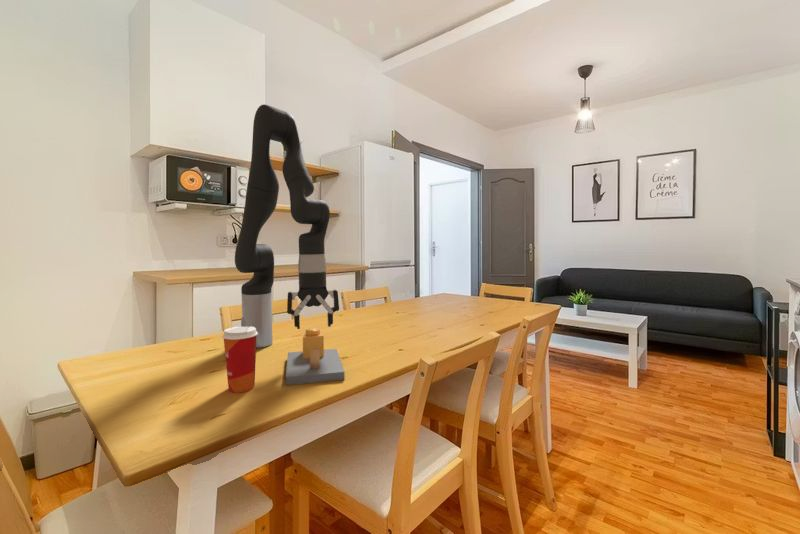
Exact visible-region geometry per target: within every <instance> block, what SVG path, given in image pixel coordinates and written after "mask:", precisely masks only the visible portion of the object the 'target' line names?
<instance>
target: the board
mask: <svg viewBox="0 0 800 534" xmlns="http://www.w3.org/2000/svg"><path fill="white" fill-rule="evenodd" d="M286 359H287V361H286V371H285V372H286V373H285V386H291V385H292V386H293V385H301V384H302V385H303V384H314V383H324V382H325V383H326V382H335V381H343V380H345V379H346V378H345V370H344V367H343V363H342V360H341V357H340V355H339V352H338V349H337V348H330V349H329V348H328V349H324V357H319V349H312V350H310V358H303V350H302V351H291V352H290V351H288V352H287V358H286Z"/></svg>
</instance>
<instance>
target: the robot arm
mask: <svg viewBox="0 0 800 534" xmlns="http://www.w3.org/2000/svg"><path fill="white" fill-rule="evenodd" d="M252 124H253V125H252V126H253V127H252V141H251V143H252V146H251V159H250V168H249V173H248V180H247V186H246V193H245V200H244V201H245V202H244V208H243V209H244V210H243V216H242V220H241V226H240V230H239V235H238V239H237V242H236V248H235V251H234V264H235V265H234V266H235V267H236V269H237V271H239V272H240V273H243V274H252V273H253V274H252V277H251V278H250V280H248V281H246V282H245V283H243V284H242V285H241V286H240V287H241V290H240V291H241V319H240V326H242V327H243V326H249V327H250V326H252V327H255V328H256V331H257V332H258V334H257V335H256V349H259V348H266V347H269V346H271V345H273V340H274V339H273V337H274V336H273V302H272V301H273V300H272V299H273V296H272V294H273V293H272V288H273V284H274V281H275V280H274V279H275V276H274V275H275V257H274V252H273V250H272V247H271V246H269V245H267V244H265V243H258V240H259V239H258V238H259V235H260V233H261V229H262V228H263V227H264V225H265V224H266V222H267V221H268V220H269V219H270V217H271V216H272V214H273V213H274V211H275V210H276V207H277V204H278V199H279V193H280V191H279V190H280V184H279V179H278V176H277V174H276V171H275V169H274V166H273V164H272V160H271V155H270V148H271V147H270V144H271V141H274V142H278V143H281V144H282V146H283V147H284V150H285V152H286V153H285V157H284V160H283V163H282V176H283V178H284V181H285V184H286V187H287V189H288V192H289V201H290V203H289V205H290V208H289V209H290V215H291V217H292V219H293V221H295V222H296V223H297V224H300V225H311V227H310V230H309V231H307V232H303V233H301V234H300V235H299V236H298V264H297V265H298V267H297V270H298V291H297V292H296V291H288V292H287V300H286V301H287V304H286V306H287V307H286V308H287V309H286V313H287V314H288V315H292V316H294V317H293V318H294V321H293V322H294V327H295V328H296V329H297V330H300V328H301V327H300V326H301V324H300V313H301V312H302V310H303V309H304V308H305V306H306V307H308V308H310V307H320V306H321V305H322V306H323V308H324V309H325V310H326V311H327V314H326V315H327V326H328V327H332V325H333V323H334V313H335V312H338V311H340V304H339V303H340V301H339V300H340V299H339V292H338V290H337V289H336V288H335V289H333V290H328V289H327V264H326V263H327V261H326V254H325V253H326V251H325V250H326V249H325V238H326V235H327V230H328V225H329V221H330V218H331V217H330V216H331V211H330V207H329V204H328V203H327V202H326V201H324V200H322V199H316V198H308V197H310V196H312V194H313V193H314V191H315V186H314V183H313V181H312V178H311V176H310V173H309V170H308V168H307V166H306V162H305V160H304V157H303V156H304V155H303V151H302V146H301V145H302V144H301V141H300V136H299V135H300V134H299V131H298V127H297V123H296V120H295V118H294V117H293V115H292V114H290V113H289V112H288V111H284V110H282V109H280V108H276V107H273V106H272V105H268V104H260V106H258V107H257V109H256V111H255V114H254V118H253V123H252ZM328 295H330V298H332V299H333V300H332V301H333V306H332V307H330V305H329V304H328V302H327V301H326V299H327V297H329V296H328ZM296 297H298V299H299V300H300V302H299V304H298V305H297V307H296V308H295V309H294V308H293V301H294V300H295V299H296Z"/></svg>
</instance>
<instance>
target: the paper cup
mask: <svg viewBox="0 0 800 534" xmlns="http://www.w3.org/2000/svg"><path fill="white" fill-rule="evenodd" d="M257 334H258V332H257V331H256V328H255V327H252V326H250V327H249V326H243V327H242V326H241V325H240V326H232V327H229V328H226V329H224V331H223V334H222V336H221V337H222V339H223V344H224V345H223V346H224V348H223V349H224V356H225V357H224V358H225V368H226V375H227V378H226V379H227V385H228V386H227V387H228V391H229V392H231V393H236V394H238V393H245V392H248V391H251V390H252V389H254V388H255V384H256V383H255V382H256V381H255V380H256V360H257V348H256V335H257Z"/></svg>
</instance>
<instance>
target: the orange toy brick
mask: <svg viewBox="0 0 800 534" xmlns="http://www.w3.org/2000/svg"><path fill="white" fill-rule="evenodd" d="M324 336H325V335H324V332H323V330H321V329H320V328H317V327H312V328H311V327H310V328H307V329H305V331H303V332H302V351H303V358H310V350H312V349H319V357H324V350H325V348H324V342H325V341H324Z"/></svg>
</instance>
